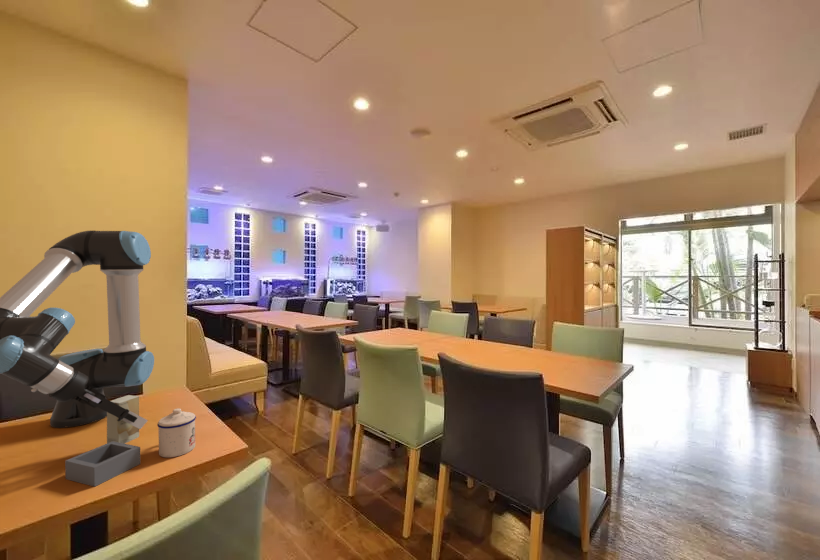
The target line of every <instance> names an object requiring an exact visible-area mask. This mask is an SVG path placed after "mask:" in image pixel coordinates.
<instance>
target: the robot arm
mask: <svg viewBox="0 0 820 560" xmlns="http://www.w3.org/2000/svg"><path fill="white" fill-rule="evenodd" d="M151 256H152V252H151V248H150V245H149V242H148V240H147V239H146V238H145V236H144V235H143V234H142V233H140V232H137V231H129V230H85V231H79V232H76V233H73V234H71V235H68V236H67V237H65V238H63V239H60V240H59V241H57V242H56V243H54V244H53V245H52V246H51V247H49V248H48V249H47V250H46V251H45V252H44V254H43V258H42V260H41V261H40V262H38V263H37V264H36V265H35V266H34V267H33V268H31V270H30V271H29V272H27V273H26V274H25V275H24V276H23V277H22V278H21V279H20V280H19V281H17V282H16V283H15V284H14V285H12V286H11V287H10V288H9V289H8V290H7V291H6V292H5V293H4V294H3V295H1V296H0V374H2V375H3V376H6V377H8V378H10V379H12V380H14V381H16V382H18V383H20V384H22V385H25V386H26V387H29V388H32V389H30V391H31V392H32V393H35V392H37V391H38V392H40V393H41V394H43V395H47V394H48V395H47V396H48V397H49V398H51V399H54V400H56V403H55V405H54V408H53V410H52V413H51V415H50V419H49V421H50V427H52V428H57V429H58V428H59V429H61V428H62V429H63V428H72V427H78V426H83V425H88V424H91V423H93V422H94V423H95V422H97V421H100V420H102V419H105V418H107V412H108V413H110V414H112V415H114V416H116V417H118V418H119V419H118V420H117V421H120V420H123V421H125V422H127V423H129V424H131V425H133V426H135V427H137V428H139V430H141V429H142V428H143V427H144V426H145V425H146V424H147V422H148V421H149V420H148V419H146V418H144V417H142V416H140V414H139V415H137V414H135V413H133V412H131V411H129V410H128V409H124V408H122V407H121V406H119V405H117V404H115V403H113V402H111V401H112V400H109V399H107V397H106V395H105V393H104V388H114V387H115V388H119V387H128V388H129V387H134V386H141V385H142V384H144V383H145V382H146V381H147V380H148V379H149V378H150V377H151V374H152V372H153V370H154V365H155V356H154V353H153V352H152V351H148V350H147V345H146V344H145V343H144V342H142V341H141V318H140V294H139V293H140V290H139V289H140V287H139V286H140V283H139V274H140V273H142V272H143V271H144V266H147V265H148V264H149V263H150V261H151ZM94 265H95V266H96V265H97V266H99V271H100V272H102V273H103V274H104V275H105V276H106V297H107V298H106V299H107V300H106V301H107V325H108V327H107V328H108V346H106V347H105V348H104V349H102V348H92V349H87V350H82V351H76V352H72V353H68V354H65V355H62V356H60V357H59V358H58V359H57V358H55V357H54V356H52V355H51V354H52V353H53V352H54V351H55V349H56V348H57V347H58V346H59V345H60V343H62V341H64V339H65V338H66V337H67V336H68V334H69V333H70V331H71V329H72V328H73V327H74V326H75V324H76V319H75V317H74V316H73V314H72V313H71V312H69V311H68V310H65V309H64V308H61V307H48V308H44V310H42V311H40V312H39V313H38V314H37V315H36V316H32V314H33V313H34V312H35V311H36V310H37V309H38V308H40V306H42V304H43V303H44V302H45V301H46V300H47V299H48V298H49V297H50V296H51V295H52V294H53V293H54V292H55V291H56V290H57V289H58V288H59V287H60V285H62V283H64V281H66V280H67V278H68V277H70V275H71V274H72V273H73V274H74V273H76V272H77V273H78V272H79V271H80V270H81V269H82V268H84V267H87V266H94Z"/></svg>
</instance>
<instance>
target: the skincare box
mask: <svg viewBox="0 0 820 560" xmlns="http://www.w3.org/2000/svg"><path fill="white" fill-rule="evenodd" d="M110 401H111V402H113V403H115V404H117V405H119V406H121V407H122V408H124V409H128V410H129V411H131V412H133V413H135V414H137V415H139V416H140V396H139V395H129V394H128V395H124V396H122V397H118V398H115V399H112V400H110ZM118 419H119V418H118V417H116V416H114V415H112V414H110V413H108V412H107V416H106V444H107V443H109V442H112V441H114V442H119V443H124V444H128V443H129V442H131V441H133V440H136V439H138V438H139V437H140V429H139V428H137V427H135V426H133V425H131V424H129V423H127V422H125V421H123V420H120V421H117V420H118Z"/></svg>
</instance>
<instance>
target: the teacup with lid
mask: <svg viewBox="0 0 820 560" xmlns="http://www.w3.org/2000/svg"><path fill="white" fill-rule="evenodd" d="M196 419H197V416H196V414H195V413H193V412H191V411H190V412H189V411H182V409H181V408H174V409H173V410H172V412H171V413H169V414H168V415H166V416H164V417H162V418H160V419H159V420H158V422H157V427H158V455H159V456H160V457H162V458H175V457H179V456H183V455H185V454H188V453H190V452H192V451H193V450H194V449H195V447H196Z"/></svg>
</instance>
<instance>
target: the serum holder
mask: <svg viewBox="0 0 820 560" xmlns="http://www.w3.org/2000/svg"><path fill="white" fill-rule="evenodd" d="M64 463H65V466H64V467H65V471H64V472H65V480H69V481H73V482H75V483H80V484H84V485H88V486H91V487H94V488H95V487H97V486H99V485H100V484H101V485H102V484H103V483H104V482H107V481H108V480H112V479H113V478H116V477H117V476H119V475H121V474H123V473H125V472H127V471H129V470H131V469H134V468H135V467H136V466H137V467H138V466H139V465H141V446H138V445H133V444H128V443H125V444H124V443H119V442H114V441H112V442H109V443H107V442H106V443H105V444H102V445H100V446H98V447H95V448H93V449H91V450H87V451H85V452H83V453H80V454H77V455H75V456H73V457H71V458H69V459H65V461H64Z"/></svg>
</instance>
